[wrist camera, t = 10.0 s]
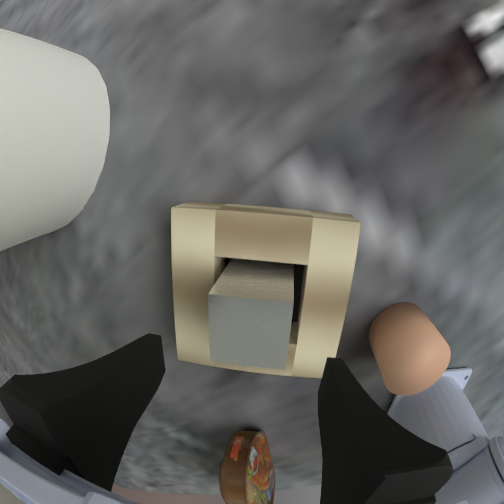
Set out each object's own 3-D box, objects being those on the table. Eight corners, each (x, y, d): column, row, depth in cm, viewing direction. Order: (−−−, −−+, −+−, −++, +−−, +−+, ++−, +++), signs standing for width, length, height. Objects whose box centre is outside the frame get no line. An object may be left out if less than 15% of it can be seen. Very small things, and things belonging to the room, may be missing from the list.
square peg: (288, 310, 21) (285, 370, 14) (234, 305, 21) (210, 361, 15) (293, 257, 20) (293, 302, 13) (235, 252, 20) (208, 293, 14)
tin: (277, 483, 28) (271, 535, 20) (253, 482, 29) (243, 534, 21) (261, 413, 24) (249, 485, 16) (229, 413, 25) (209, 482, 17)
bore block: (326, 354, 22) (329, 378, 19) (190, 338, 23) (177, 359, 20) (350, 214, 18) (360, 222, 16) (188, 201, 20) (171, 207, 17)
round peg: (414, 355, 21) (434, 393, 16) (362, 355, 21) (374, 397, 16) (432, 303, 19) (460, 335, 15) (376, 300, 20) (396, 335, 15)
